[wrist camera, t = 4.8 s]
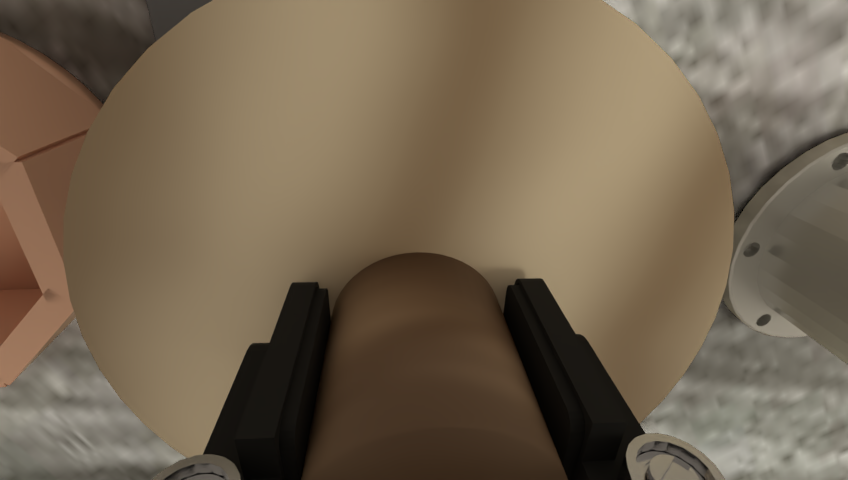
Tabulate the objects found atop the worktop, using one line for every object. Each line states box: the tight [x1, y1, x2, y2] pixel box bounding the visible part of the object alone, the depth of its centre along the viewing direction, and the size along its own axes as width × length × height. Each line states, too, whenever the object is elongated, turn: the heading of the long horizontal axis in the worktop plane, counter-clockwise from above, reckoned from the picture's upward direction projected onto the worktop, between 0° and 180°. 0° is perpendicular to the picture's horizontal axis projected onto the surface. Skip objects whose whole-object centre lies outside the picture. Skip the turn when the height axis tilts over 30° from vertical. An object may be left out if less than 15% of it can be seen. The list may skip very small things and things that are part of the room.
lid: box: [63, 0, 734, 480], centre depth 9 cm, size 15×15×6 cm
